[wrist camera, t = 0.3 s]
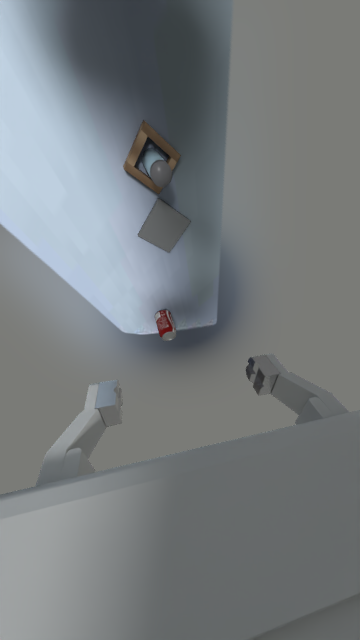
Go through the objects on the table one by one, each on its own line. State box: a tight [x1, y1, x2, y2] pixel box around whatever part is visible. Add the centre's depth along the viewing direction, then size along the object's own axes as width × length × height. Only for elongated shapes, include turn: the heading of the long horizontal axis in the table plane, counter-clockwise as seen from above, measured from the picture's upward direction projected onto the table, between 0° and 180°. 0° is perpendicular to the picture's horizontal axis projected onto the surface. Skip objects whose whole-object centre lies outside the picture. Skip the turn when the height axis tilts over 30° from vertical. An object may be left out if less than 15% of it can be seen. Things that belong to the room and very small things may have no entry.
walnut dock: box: [123, 120, 181, 194], centre depth 44 cm, size 9×9×2 cm
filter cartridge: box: [142, 148, 172, 187], centre depth 41 cm, size 4×4×11 cm
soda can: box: [155, 310, 176, 341], centre depth 81 cm, size 7×7×12 cm
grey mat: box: [138, 198, 191, 252], centre depth 56 cm, size 11×11×1 cm
